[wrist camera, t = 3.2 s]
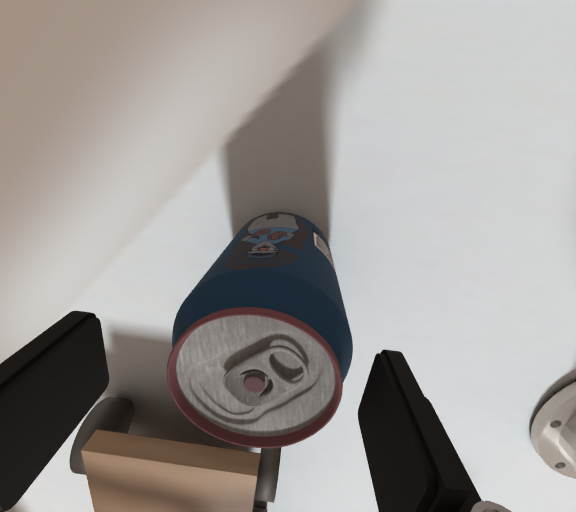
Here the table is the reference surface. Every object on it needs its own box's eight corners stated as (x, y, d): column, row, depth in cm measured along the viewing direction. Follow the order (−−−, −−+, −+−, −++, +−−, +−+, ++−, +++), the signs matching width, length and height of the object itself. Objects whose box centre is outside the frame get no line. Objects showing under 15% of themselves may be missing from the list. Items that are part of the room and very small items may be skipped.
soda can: (272, 311, 22) (238, 482, 11) (215, 243, 20) (102, 363, 9) (347, 266, 20) (402, 414, 9) (293, 187, 18) (275, 247, 7)
